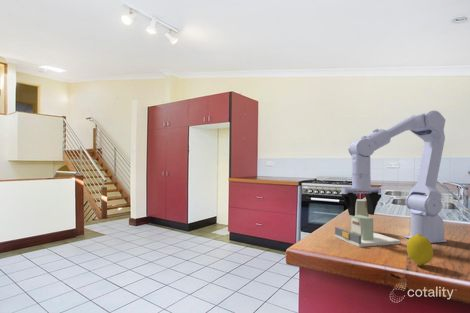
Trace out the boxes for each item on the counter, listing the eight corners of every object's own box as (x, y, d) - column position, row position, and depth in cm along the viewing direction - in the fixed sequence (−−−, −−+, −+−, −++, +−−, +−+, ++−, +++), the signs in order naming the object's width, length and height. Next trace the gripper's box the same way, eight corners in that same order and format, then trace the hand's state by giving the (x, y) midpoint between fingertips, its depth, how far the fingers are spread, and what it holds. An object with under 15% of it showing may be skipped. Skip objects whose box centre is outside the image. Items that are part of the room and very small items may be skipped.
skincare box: (369, 233, 100) (369, 201, 100) (356, 233, 101) (356, 200, 101) (364, 229, 106) (364, 199, 106) (352, 229, 107) (352, 198, 107)
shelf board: (372, 234, 99) (372, 225, 99) (400, 243, 87) (400, 233, 87) (334, 237, 94) (334, 227, 95) (357, 247, 83) (357, 235, 83)
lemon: (438, 270, 64) (437, 237, 65) (413, 269, 65) (412, 236, 66) (426, 262, 70) (425, 231, 70) (402, 261, 71) (402, 230, 71)
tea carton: (360, 235, 94) (360, 214, 94) (373, 239, 88) (373, 218, 88) (349, 235, 93) (349, 215, 93) (362, 240, 87) (362, 218, 87)
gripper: (370, 174, 97) (370, 212, 96) (335, 174, 93) (335, 213, 93) (385, 175, 90) (386, 215, 90) (349, 175, 86) (349, 217, 86)
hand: (361, 214), depth 91 cm, fingers open, 7 cm apart
